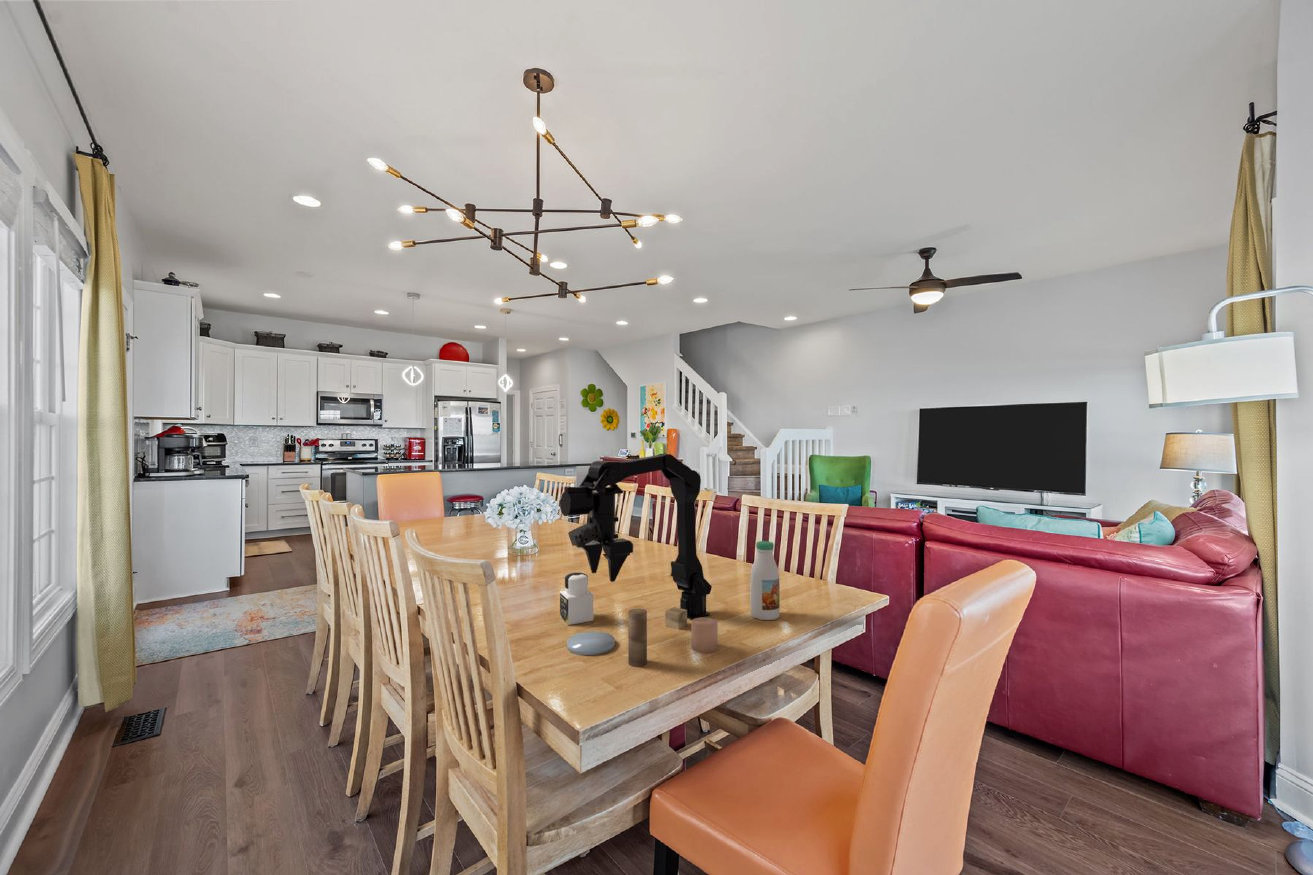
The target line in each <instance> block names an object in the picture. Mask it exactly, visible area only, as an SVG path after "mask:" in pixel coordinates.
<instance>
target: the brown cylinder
mask: <svg viewBox="0 0 1313 875" xmlns="http://www.w3.org/2000/svg"><path fill="white" fill-rule="evenodd" d="M627 615H628V616H627V618H628V621H627V625H628V629H627V633H628V636H627V639H628V640H627V641H628V642H627V643H628V648H627V649H628V650H627V652H628V653H627V654H628V656H627V657H628V658H627V659H628V663H627V664H628V665H629V666H631V667H635V668H636V667H637V668H638V667H639V668H641V667H644V666H646V665H647V664H648V611H647V610H646V609H643V608H633V609H629V610H628V613H627Z"/></svg>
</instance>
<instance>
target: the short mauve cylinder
mask: <svg viewBox="0 0 1313 875" xmlns="http://www.w3.org/2000/svg"><path fill="white" fill-rule="evenodd" d="M718 633H719V630H718V620H717V619H715V618H711V617H707V616H704V617H700V618H695V619H691V649H692V651H694V652H695V653H699V654H711V653H715V652H717V651H718V648H719V647H718V645H719V644H718V642H719V640H718V638H719V637H718V636H719V635H718Z"/></svg>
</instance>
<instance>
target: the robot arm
mask: <svg viewBox="0 0 1313 875" xmlns="http://www.w3.org/2000/svg"><path fill="white" fill-rule="evenodd" d="M657 471H660V472H661V473H662V475H663V477H664V478H666V480H667V481H668V482H669V486H670V491H671V494H672V496H673V497H674V500H675V502H676V518H677V520H676V522H677V526H676V527H677V550H678V552H677V557H676V559H675V560H673V561H671V562H670V568H671V570H670V571H671V572H670V576H671V577H672V580H673V582H674V583H675V584H676V587H677V590H680V591H681V594H680V595H681V597H680V601H679V602H680V603H679V605H680V606H679V607H680V608H681V609H685V610H687V619H690V620H693V619H695V618H701V617H707V616H710V615H711V612H708V611H707V596H708V595H710V594H711V591H712V588H713V586H712V584H710V582H709V581H708V580H706V578H705V575H704V570H703V569H704V568H703V566H702V563H701V561H700V559H699V557H698V555H697V554H698V553H697V532H696V531H697V530H696V525H697V524H696V501H697V499H698V497H699V495H700V493H701V483H702V478H701V475H700V474H699V473H698V471H696V470H694V469H693V470H692V469H691V468H690V466H688V465H686V464H685V463H683V462H681V461H680V460H678V459H677V458H676V457H675V456H674V455H672V454H670V453H659V454H655V455H650V456H646V457H639V458H634V459H629V460H623V461H620V460H619V461H616V460H615V461H614V460H613V461H612V460H595V461H593V462H591V464H590V465H589V468H588V472H587V474H586V475H585V477H584V479H582V481H581V482H580V484H579V486H568V485H567V486H564V487H563V492H562V493H561V497H560V500H559V508H560V512H561V514H562V515H563V516H564V517H572V516H582V515H588V514H590V513H591V516H588V517H586V523H585V524H583V525H581V526H578V527H576V528H574V529H572V530H570V531H569V532H568V533H567V535H568V538H569V540H570V544H571V546H573V547H574V546H575V547H576V548H578V549H582V550H583V551H584V552H585V555H586V558H587V561H588V564H589V568H590V571H591V574H597V571H598V568H599V563H600V561H601V556H603V557H604V558H605V559H606V560H607V564H608V566H607V568H608V575H609V581H610V582H611V583H613V582H616V579H617V578H618V575H619V573H620V571H621V570H622V567H623V566H624V563H625V562H626V559H628V556H629V557H630V556H631V554H633V553H634V543H633V542H632V541H631V540H629V539H625V538H624V537H623V538H619V534H618V533H616V523H617V522H619V521H620V520H619V516H616V495H618V494H619V495H620V494H624V490H623V489H621V488H620V487H619V486H618V483H620V482H623V481H624V480H626V479H627V478H629V477H633V476H639V475H642V474H643V475H644V474H647V473H653V472H657ZM602 551H603V553H602Z"/></svg>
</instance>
